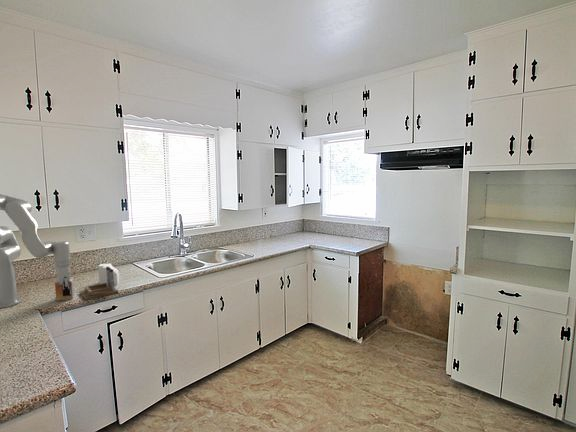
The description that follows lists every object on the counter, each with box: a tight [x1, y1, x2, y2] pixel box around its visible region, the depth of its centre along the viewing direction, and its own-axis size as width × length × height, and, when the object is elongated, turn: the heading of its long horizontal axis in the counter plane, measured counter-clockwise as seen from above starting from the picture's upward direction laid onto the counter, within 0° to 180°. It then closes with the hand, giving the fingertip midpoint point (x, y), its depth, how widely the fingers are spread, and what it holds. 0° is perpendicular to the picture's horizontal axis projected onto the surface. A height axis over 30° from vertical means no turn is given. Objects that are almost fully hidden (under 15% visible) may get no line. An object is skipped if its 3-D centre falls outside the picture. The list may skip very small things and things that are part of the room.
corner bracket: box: [98, 263, 120, 286], centre depth 210 cm, size 11×11×12 cm
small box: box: [54, 278, 75, 302], centre depth 182 cm, size 8×6×10 cm
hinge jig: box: [79, 267, 119, 301], centre depth 190 cm, size 15×17×14 cm
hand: (65, 293), depth 183 cm, fingers closed on small box, 6 cm apart
